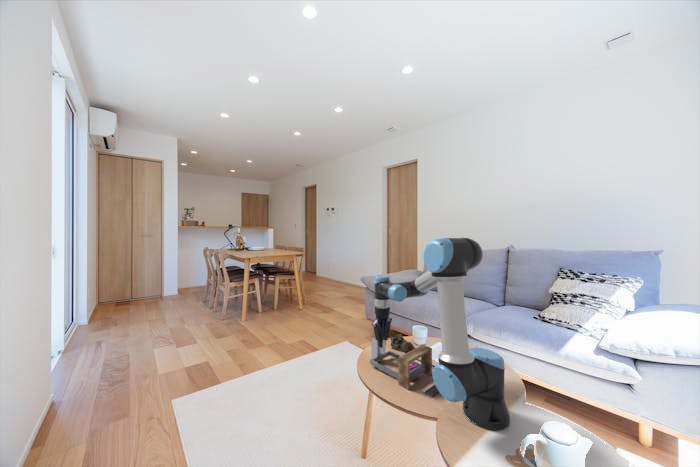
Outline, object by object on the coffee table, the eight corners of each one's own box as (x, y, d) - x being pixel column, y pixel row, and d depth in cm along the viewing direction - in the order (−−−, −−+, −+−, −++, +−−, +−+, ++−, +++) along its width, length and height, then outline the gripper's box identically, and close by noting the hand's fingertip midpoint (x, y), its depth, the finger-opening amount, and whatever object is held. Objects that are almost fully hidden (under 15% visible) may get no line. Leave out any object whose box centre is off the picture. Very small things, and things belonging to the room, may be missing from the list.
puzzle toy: (409, 381, 119) (409, 368, 119) (400, 375, 124) (400, 363, 124) (418, 377, 122) (418, 365, 122) (409, 372, 127) (409, 360, 127)
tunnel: (431, 374, 125) (431, 348, 125) (408, 389, 113) (408, 361, 113) (422, 369, 129) (422, 344, 129) (398, 384, 117) (398, 357, 117)
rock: (390, 342, 161) (384, 340, 154) (402, 330, 161) (396, 327, 153) (405, 360, 153) (399, 359, 145) (417, 347, 153) (412, 345, 145)
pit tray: (447, 385, 116) (447, 383, 116) (432, 397, 108) (432, 395, 108) (440, 382, 119) (440, 380, 119) (424, 393, 111) (424, 391, 111)
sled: (426, 373, 125) (426, 350, 125) (407, 385, 116) (407, 360, 115) (383, 353, 145) (383, 333, 145) (364, 363, 135) (364, 341, 135)
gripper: (385, 302, 143) (385, 346, 143) (367, 307, 134) (367, 354, 134) (396, 305, 137) (396, 351, 138) (379, 310, 128) (379, 359, 129)
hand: (382, 352), depth 136 cm, fingers closed
